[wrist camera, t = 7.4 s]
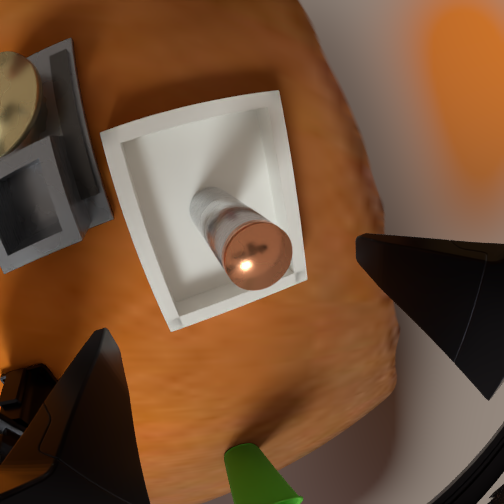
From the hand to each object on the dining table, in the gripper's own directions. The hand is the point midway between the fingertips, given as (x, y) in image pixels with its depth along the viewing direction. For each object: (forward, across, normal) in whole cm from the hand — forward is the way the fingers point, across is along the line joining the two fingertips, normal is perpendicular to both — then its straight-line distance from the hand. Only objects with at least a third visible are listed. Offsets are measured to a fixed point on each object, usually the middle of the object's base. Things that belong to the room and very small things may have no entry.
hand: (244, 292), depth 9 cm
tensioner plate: (+12, +9, -7) cm, 17 cm away
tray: (+12, -2, 0) cm, 12 cm away
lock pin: (+11, -2, 0) cm, 11 cm away
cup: (+12, +3, +34) cm, 37 cm away
